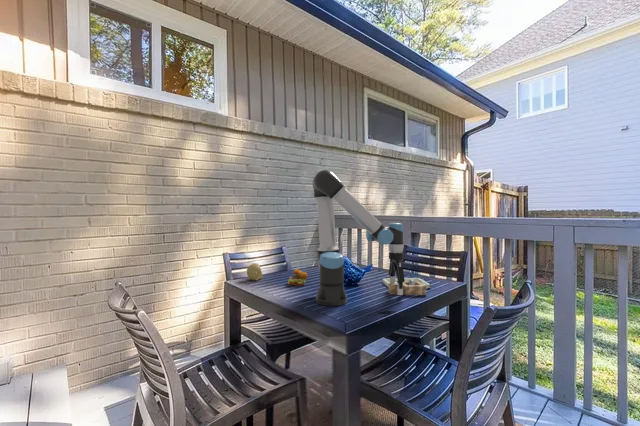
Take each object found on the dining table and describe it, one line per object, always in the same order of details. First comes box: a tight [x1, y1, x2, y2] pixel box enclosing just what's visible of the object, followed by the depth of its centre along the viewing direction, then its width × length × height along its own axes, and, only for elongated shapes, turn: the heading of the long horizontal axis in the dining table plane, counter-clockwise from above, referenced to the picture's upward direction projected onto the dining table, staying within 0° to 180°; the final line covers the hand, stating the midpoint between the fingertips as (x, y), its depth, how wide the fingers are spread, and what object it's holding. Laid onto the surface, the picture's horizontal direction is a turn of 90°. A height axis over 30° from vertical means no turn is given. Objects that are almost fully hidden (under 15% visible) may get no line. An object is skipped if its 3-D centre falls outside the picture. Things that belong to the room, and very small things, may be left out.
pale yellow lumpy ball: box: [246, 262, 264, 281], centre depth 205 cm, size 10×12×11 cm
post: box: [409, 279, 415, 285], centre depth 175 cm, size 5×5×7 cm
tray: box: [382, 277, 432, 289], centre depth 191 cm, size 23×17×2 cm
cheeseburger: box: [287, 268, 308, 286], centre depth 194 cm, size 10×11×10 cm
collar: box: [387, 281, 427, 296], centre depth 174 cm, size 18×11×5 cm, turn 94°
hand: (396, 291), depth 174 cm, fingers open, 13 cm apart
